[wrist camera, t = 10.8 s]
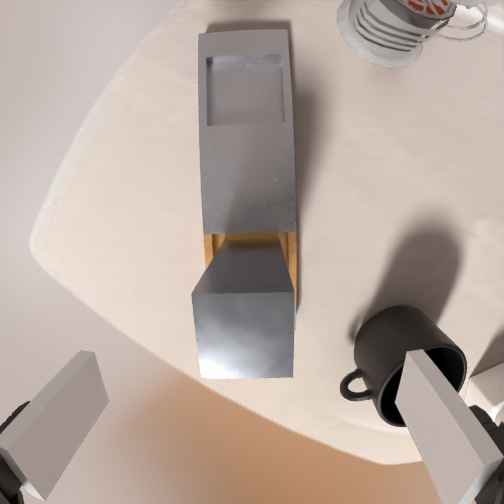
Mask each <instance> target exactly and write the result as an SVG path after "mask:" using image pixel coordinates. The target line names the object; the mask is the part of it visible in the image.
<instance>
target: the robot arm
mask: <svg viewBox="0 0 504 504" xmlns="http://www.w3.org/2000/svg"><path fill="white" fill-rule="evenodd" d="M108 402H109V399H108V396H107V393H106V390H105V387H104V384H103V380H102V377H101V374H100V370H99V367H98V363H97V360H96V357H95V353H94V352H88V351H82V350H80V351H79V352H78V353H77V355H76V356H74V358H73V359H71V360H70V361H69V362H68V363H67V365H66V366H65V367H64V368H63V369H62V370H61V371H60V372H59V373H58V374H57V375H56V376H55V377H54V378H53V379H52V380H51V381H50V382H49V383H48V384H47V385H46V386H45V387H44V388H43V389H42V390H41V391H40V392H39V393H38V394H37V396H35V398H34V399H33V400H32V401H31V402H30V401H28V402H26V403H24V404H23V405H21V406H19V407H18V408H17V409H16V410H15V411H14V412H13V413H12V416H9V417H8V419H7V420H6V422H4V423H3V424H2V425H1V426H0V504H24V501H23V495H22V493H21V491H20V490H19V488H20V487H21V486H22V485H23V486H24V487H25V489H26V490H27V491H28V492H29V494H31V495H33V496H35V497H37V498H39V499H41V500H43V501H45V500H46V499H47V497H48V496H49V494H50V492H51V491H52V489H53V488H54V486H55V484H56V483H57V481H58V480H59V478H60V476H61V475H62V473H63V472H64V470H65V468H66V467H67V465H68V464H69V462H70V460H71V459H72V457H73V456H74V454H75V453H76V451H77V449H78V448H79V446H80V445H81V443H82V442H83V440H84V439H85V437H86V436H87V434H88V432H89V431H90V429H91V428H92V426H93V425H94V423H95V422H96V420H97V418H98V417H99V415H100V414H101V413H102V411H103V410H104V408H105V406H106V405H107V404H108ZM395 404H396V406H397V408H398V410H399V412H400V414H401V416H402V418H403V420H404V422H405V424H406V426H407V428H408V430H409V432H410V434H411V436H412V438H413V440H414V442H415V444H416V447H417V449H418V451H419V453H420V455H421V457H422V459H423V461H424V463H425V466H426V468H427V470H428V472H429V474H430V476H431V479H432V481H433V483H434V485H435V488H436V490H437V492H438V494H439V497H440V499H441V501H442V504H471V503H472V502H473V500H474V499H475V501H476V503H477V504H504V434H503V433H502V431H501V430H500V429H498V426H497V425H496V424H495V422H493V420H492V418H491V417H490V416H489V415H488V413H487V412H486V411H485V410H483V409H482V408H480V407H478V406H477V405H472V406H469V407H468V406H467V405H466V403H465V402H464V401H463V399H462V398H461V397H460V396H459V394H458V393H457V392H456V390H455V389H454V388H453V387H452V385H451V384H450V383H449V381H448V380H447V379H446V378H445V376H444V375H443V374H442V373H441V371H440V370H439V369H438V368H437V366H436V365H435V364H434V363H433V361H432V360H431V359H430V358H429V356H428V355H427V354H426V353H425V352H424V350H423V349H421V350H414V351H407V353H406V358H405V363H404V367H403V372H402V376H401V381H400V385H399V389H398V393H397V397H396V400H395Z"/></svg>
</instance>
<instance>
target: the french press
mask: <svg viewBox="0 0 504 504" xmlns="http://www.w3.org/2000/svg"><path fill="white" fill-rule="evenodd" d="M482 2H483V3H484V7H485V13H484V11H483V10H482V8H481V7H480V6H479V5H478V4H480V3H482ZM456 4H459V5H465V6H466V8H467V9H470V8H471V7H473V6H476V7H478V9H479V10H480V11H481V13H482V14H483V18H482V20H481V21H479V22H478V23H476V24H475V25H471V26H467V27H454V26H450V25H447V24H448V21H449V19H450V17H452V16H453V15H454V13H455V10H456V8H457V6H456ZM487 14H488V8H487V5H486V3H485V1H484V0H344V1H343V2H342V4H341V5H340V7H339V8H338V11H337V25H338V27H339V30H340V32H341V35H342V37H343V39H344V40H345V41H346V42H347V44H348V45H349V46H350V47H351V48H352V49H353V50H354V52H355V53H357V54H358V55H360V56H361V57H363V58H365V59H366V60H368V61H369V62H371V63H373V64H376V65H380V66H383V67H386V68H404V67H407V66H408V65H410V64H412V63H413V62H415V61H417V59H418V57H419V55H420V53H421V51H422V44H423V43H424V42H426V41H427V40H429V39H430V38H431V37H433V36H439V37H442V38H445V39H448V40H452V41H457V42H462V41H471V40H475V39H477V38H479V37H480V36H482V35H484V33H485V32H486V30H487V26H488V22H487V18H486V17H487ZM448 18H449V19H448ZM446 19H448V20H446ZM440 20H442V21H444V20H446V21H445V22H444V23H441V22H439V21H440ZM484 20H485V25H484V29H483V30H482V32H481V33H480V34H478V35H476V36H473V37H471V38H466V39H455V38H449V37H446V36H443V35H440V34H436V33H437V32H438V31H440V30H441V29H442V28H444V27H445V26H446V27H449V28H454V29H471V28H475V27H477V26H478V25H480V24H482V23H483V22H484ZM435 24H439V25H440V26H439V27H437V28H436V29H435V30H429V29H430V28H431V27H433V26H434V25H435ZM422 35H426V37H425V38H422Z"/></svg>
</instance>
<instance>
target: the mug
mask: <svg viewBox="0 0 504 504" xmlns="http://www.w3.org/2000/svg"><path fill="white" fill-rule="evenodd" d="M421 349H423V350H424V352H425V353H426V354H427V355H428V356H429V358H430V359H431V360H432V361H433V363H434V364H435V365H436V366H437V368H438V369H439V370H440V371H441V373H442V374H443V375H444V376H445V378H446V379H447V380H448V381H449V383H450V384H451V385H452V387H453V388H454V389H455V390H456V392H457V393H459V391H460V389H461V388H462V385H463V383H464V381H465V377H466V373H467V361H466V357H465V355H464V353H463V351H462V350H461V349H460V348H459V347H458V346H457V345H456V344H455V343H454V342H453V341H452V340H451V339H450V338H449V337H448V336H447V335H446V334H444V333H443V332H442V331H441V330H440V329H439V328H438V327H437V326H436V325H435V324H434V323H433V322H432V321H431V320H430V319H428V318H427V317H426V316H425V315H424V314H423V313H422V312H421V311H419V310H418V309H416V308H413V307H410V306H395V307H391V308H388V309H385V310H383V311H381V312H379V313H378V314H376V315H375V316H374V317H372V318H371V319H370V320H369V321H368V322H367V323H366V324H365V325H364V327H363V328H362V330H361V331H360V333H359V335H358V337H357V340H356V343H355V347H354V360H355V363H356V366H357V368H358V369H355V371H353V372H351V373H349V374H348V375H347V376H346V377H344V379H343V380H342V382H341V384H340V393H341V394H342V396H343V397H344V398H346V399H348V400H350V401H363V400H370V399H372V400H373V403H374V405H375V407H376V409H377V411H378V414H379V415H380V417H381V418H382V419H383V420H384V421H385V422H386V423H388V424H390V425H393V426H397V427H407V426H406V424H405V422H404V420H403V418H402V416H401V414H400V412H399V410H398V408H397V406H396V404H395V400H396V397H397V393H398V389H399V385H400V381H401V376H402V372H403V367H404V363H405V358H406V353H407V351H414V350H421ZM361 377H362V378H363V381H364V383H365V385H366V387H367V389H368V390H365V391H364V392H359V393H356V392H352V391H350V390H349V389H348V385H349V383H350V382H351V381H353V380H354V379H356V378H361Z"/></svg>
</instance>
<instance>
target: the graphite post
mask: <svg viewBox="0 0 504 504" xmlns="http://www.w3.org/2000/svg"><path fill="white" fill-rule="evenodd" d="M192 304H193V314H194V323H195V331H196V340H197V348H198V355H199V363H200V370H201V378H281V377H293V358H294V313H295V291H294V287H293V284H292V280H291V277H290V274H289V270H288V267H287V263H286V260H285V256H284V253H283V250H282V246H281V243H280V239H279V238H275V239H239V240H224V241H223V242H222V244H221V246H220V247H219V249H218V251H217V252H216V254H215V255H214V257H213V259H212V260H211V262H210V264H209V265H208V267H207V269H206V270H205V272H204V274H203V275H202V277H201V279H200V280H199V282H198V284H197V285H196V287H195V289H194V290H193V292H192Z"/></svg>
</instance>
